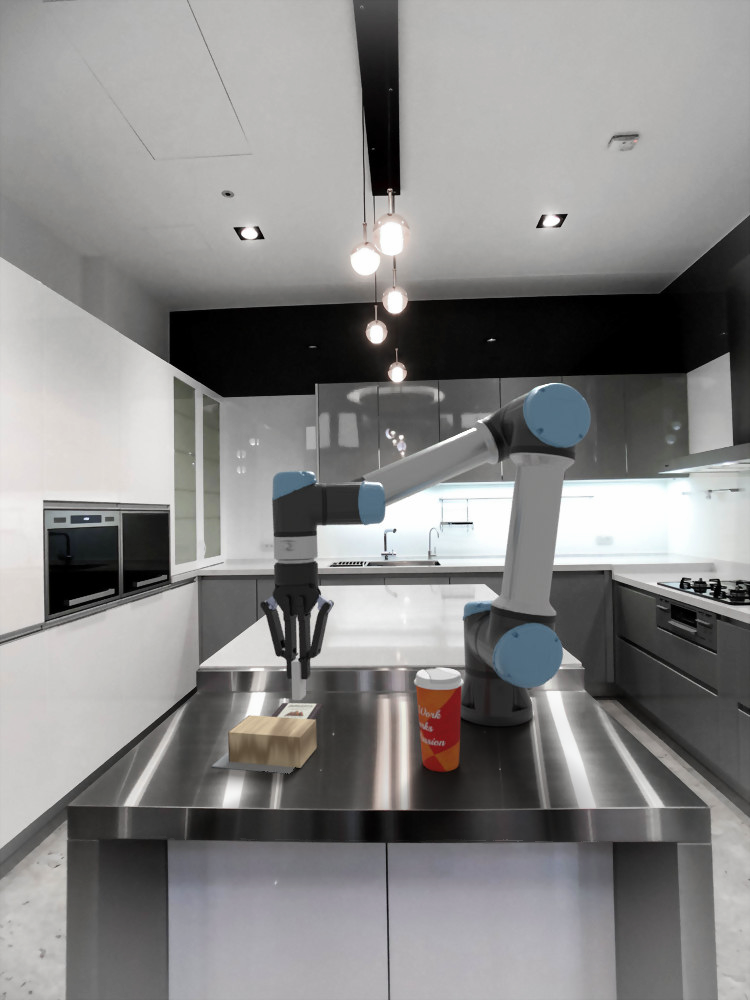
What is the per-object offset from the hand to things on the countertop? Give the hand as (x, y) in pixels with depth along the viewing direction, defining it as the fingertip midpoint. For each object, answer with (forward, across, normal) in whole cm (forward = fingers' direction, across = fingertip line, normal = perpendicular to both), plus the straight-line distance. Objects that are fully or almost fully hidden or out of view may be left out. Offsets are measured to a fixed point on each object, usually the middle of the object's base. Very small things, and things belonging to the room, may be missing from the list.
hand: (299, 697), depth 99 cm
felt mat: (+10, -6, 0) cm, 12 cm away
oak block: (+8, +2, 0) cm, 8 cm away
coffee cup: (+11, +24, +2) cm, 26 cm away
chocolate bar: (+11, -8, +16) cm, 21 cm away
